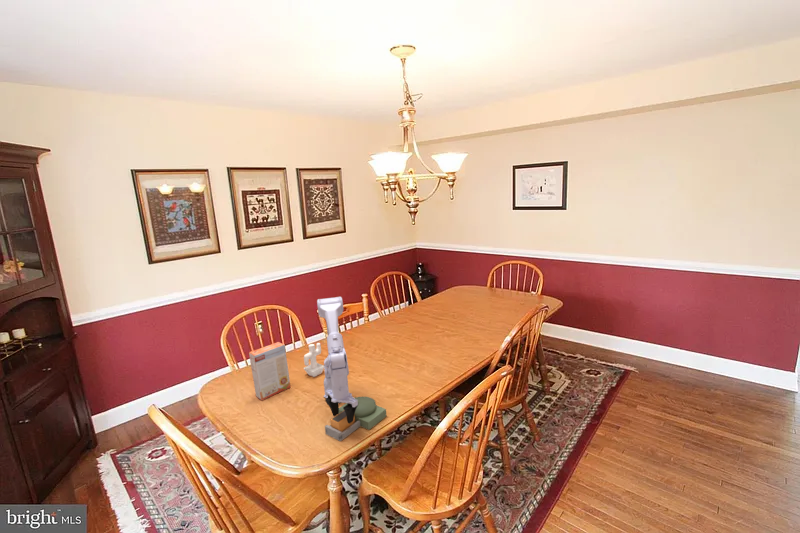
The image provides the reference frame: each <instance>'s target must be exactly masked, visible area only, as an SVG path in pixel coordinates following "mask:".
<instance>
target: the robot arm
mask: <svg viewBox="0 0 800 533" xmlns="http://www.w3.org/2000/svg"><path fill="white" fill-rule="evenodd" d="M316 303H317V304H316V305H317V311H318V312H317V313H318V316H319V317H320V318H324V319H325V322H326V330H327V331H326V332H327V337H326V343H327V344H326V345H327V352H328V353H327V354H328V355H327V357H326V358H325V359H324V361H323V365H324V369H323V371H324V379H323V387H324V388H323V389H324V395H323V398H325V401H324V402H326V404H327V405H328V408H329V410H330V411H331V413H332V416H333V417H335V416H336V415H338V414H339V408H340V407H339V406H340V405H339V404H340V403H344V404H346V403H348V404H347V405H346V406H345V407H343V409H344V410H345V413H346V416H347V421H348V423H351V422H352V421H353V419H354V414H355V411H356V408H357V406H358V400H356V399H355V397H354V396H353V393H351V392H350V391H349V381H348V376H349V375H350V370H349V363H348V355H347V352H346V349H345V344H344V339H343V335H342V334H341V333H340V332H339V317H340V316H341V315H343V312H344V302H343V297H342V296H336V297H327V298H318V299H317V300H316Z"/></svg>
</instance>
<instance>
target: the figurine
mask: <svg viewBox="0 0 800 533" xmlns="http://www.w3.org/2000/svg"><path fill="white" fill-rule="evenodd" d="M321 345H322V344H321V343H320V342H316V345H315V344H314V343H310V344H309V345H308V350H309V351H308V352H307V353H305V354H304V355H303V362H304V366H305V367H303V370H304V372H305V373H306V374H308V376H310V377H312V378H315V377H318V376H319V375H321V374H322V373H323V371H324V364H320V363H319V362H318V361H317V356H318V355H321V353H322V347H321ZM309 360H310V361H309Z"/></svg>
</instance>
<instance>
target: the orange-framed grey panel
mask: <svg viewBox="0 0 800 533" xmlns="http://www.w3.org/2000/svg"><path fill="white" fill-rule="evenodd" d="M354 423H355V415H354V419H353V421H352V422H351V423H348V421H347V416H346V413H345V410H344V411H342V412H341V413H339V414H338V415H336V416H335V417H334V416H333V417H332V418H331V419H330V425H331V427H333V428H335V429H337V430H339V431H341V432H343V431H344V430H346V429H347V428H349V427H350V426H351V425H353V424H354Z"/></svg>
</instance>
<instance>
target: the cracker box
mask: <svg viewBox="0 0 800 533" xmlns="http://www.w3.org/2000/svg"><path fill="white" fill-rule="evenodd" d="M248 352H249V353H248V355H249V361H250V367H251V374H252V379H253V384H254V385H253V386H254V392H255V396H256V397H257V398H258V399H259V400H260V401H265V400H267V399H268V398H271V397H273V396H275V395H277V394H279V393H282V392H284V391H285V390H288V389H291V381H290V373H289V366H288V360H287V358H288V357H287V354H286V346H285V344H284V343H281V342H280V341H277V342H274V343H272V344H269V345H265V346H262V347H260V348H257V349H254V350H252V351H248Z"/></svg>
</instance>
